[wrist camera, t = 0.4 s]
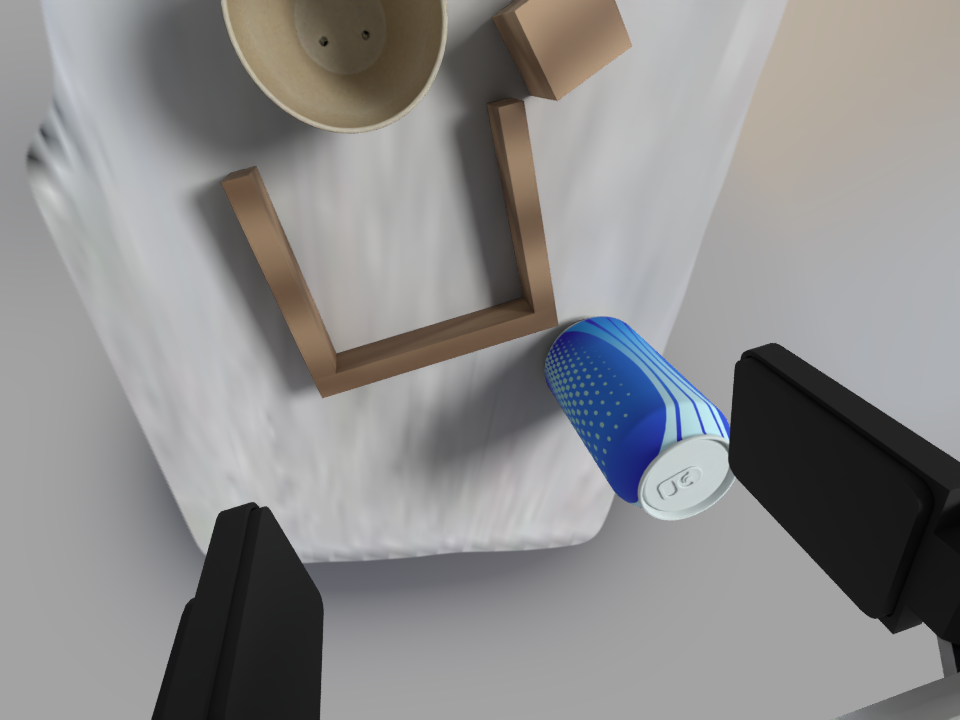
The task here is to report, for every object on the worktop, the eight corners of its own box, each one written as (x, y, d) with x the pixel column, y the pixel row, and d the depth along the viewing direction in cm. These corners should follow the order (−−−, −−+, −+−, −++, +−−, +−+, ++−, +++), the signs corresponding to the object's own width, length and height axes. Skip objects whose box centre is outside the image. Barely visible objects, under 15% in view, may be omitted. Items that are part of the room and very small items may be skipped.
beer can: (552, 305, 42) (652, 423, 28) (644, 313, 44) (776, 425, 31) (529, 394, 46) (608, 534, 32) (615, 396, 48) (721, 528, 35)
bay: (230, 173, 32) (220, 182, 30) (510, 97, 34) (523, 100, 31) (323, 377, 40) (322, 398, 38) (545, 309, 42) (558, 325, 39)
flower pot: (383, -121, 27) (394, -173, 21) (451, 82, 33) (476, 88, 27) (205, -48, 27) (166, -79, 21) (303, 145, 32) (294, 165, 26)
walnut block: (491, 17, 31) (514, 11, 27) (561, -36, 31) (595, -51, 27) (530, 95, 34) (557, 100, 30) (595, 47, 34) (632, 46, 29)
